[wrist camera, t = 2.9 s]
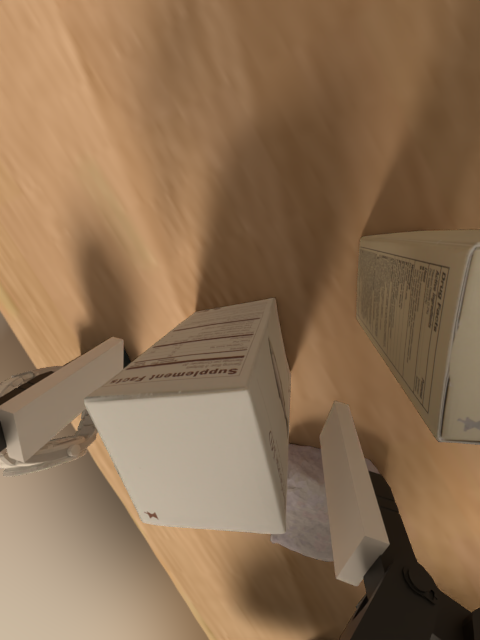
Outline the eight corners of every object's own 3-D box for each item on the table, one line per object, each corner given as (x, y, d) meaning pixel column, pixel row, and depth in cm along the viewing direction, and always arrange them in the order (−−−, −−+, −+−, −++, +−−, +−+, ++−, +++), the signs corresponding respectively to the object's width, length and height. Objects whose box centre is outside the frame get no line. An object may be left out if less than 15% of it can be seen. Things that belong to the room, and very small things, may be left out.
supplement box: (292, 375, 22) (289, 543, 10) (214, 381, 24) (136, 528, 12) (278, 294, 20) (253, 389, 8) (192, 308, 22) (73, 402, 10)
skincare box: (418, 317, 18) (618, 463, 7) (352, 319, 19) (433, 449, 8) (430, 225, 16) (743, 219, 5) (356, 233, 17) (471, 242, 6)
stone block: (376, 440, 24) (275, 437, 24) (406, 490, 20) (282, 486, 20) (350, 514, 29) (265, 512, 29) (370, 568, 25) (270, 565, 25)
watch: (107, 404, 28) (0, 505, 18) (72, 340, 26) (-73, 413, 15) (149, 397, 26) (57, 504, 16) (115, 328, 24) (-17, 401, 14)
